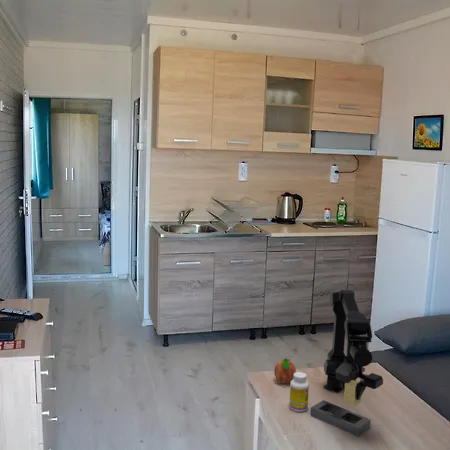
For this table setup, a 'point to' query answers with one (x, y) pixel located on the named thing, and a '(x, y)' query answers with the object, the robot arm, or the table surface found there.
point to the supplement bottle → (299, 392)
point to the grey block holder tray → (340, 418)
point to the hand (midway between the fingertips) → (352, 397)
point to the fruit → (284, 371)
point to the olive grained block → (351, 393)
